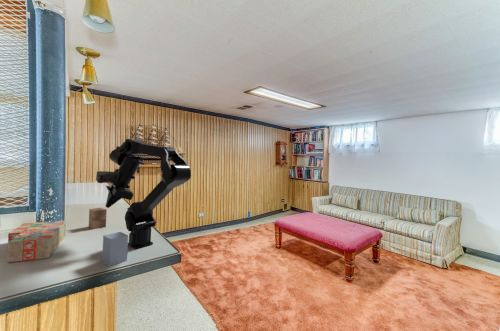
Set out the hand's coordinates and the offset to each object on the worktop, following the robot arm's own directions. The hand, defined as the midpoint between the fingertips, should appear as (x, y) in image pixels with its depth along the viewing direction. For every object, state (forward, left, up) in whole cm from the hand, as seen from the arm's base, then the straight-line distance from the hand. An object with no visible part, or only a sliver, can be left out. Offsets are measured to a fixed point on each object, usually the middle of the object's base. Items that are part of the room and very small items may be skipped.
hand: (107, 207), depth 85 cm
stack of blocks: (+12, -6, -10) cm, 17 cm away
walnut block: (-5, -21, -13) cm, 25 cm away
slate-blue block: (+5, +19, -13) cm, 24 cm away
